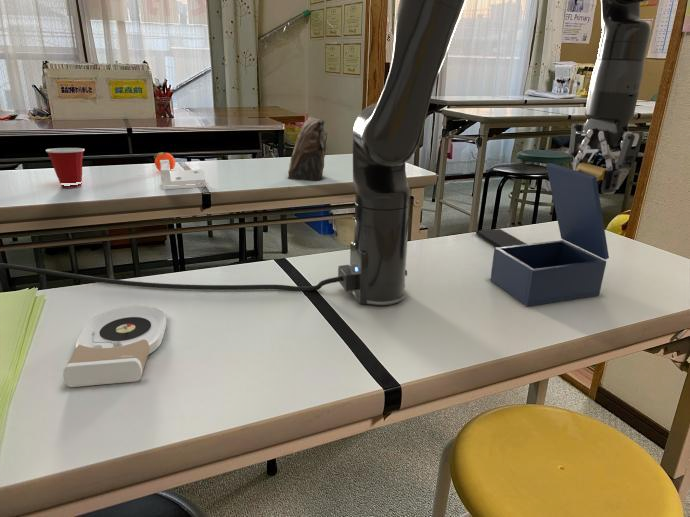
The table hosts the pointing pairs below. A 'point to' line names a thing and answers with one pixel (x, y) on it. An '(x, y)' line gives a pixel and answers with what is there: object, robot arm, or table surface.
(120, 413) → the table surface
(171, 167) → the tomato
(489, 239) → the smartphone
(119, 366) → the record player
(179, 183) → the bracket
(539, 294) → the dark blue box
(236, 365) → the table surface
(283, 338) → the table surface
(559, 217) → the box lid
